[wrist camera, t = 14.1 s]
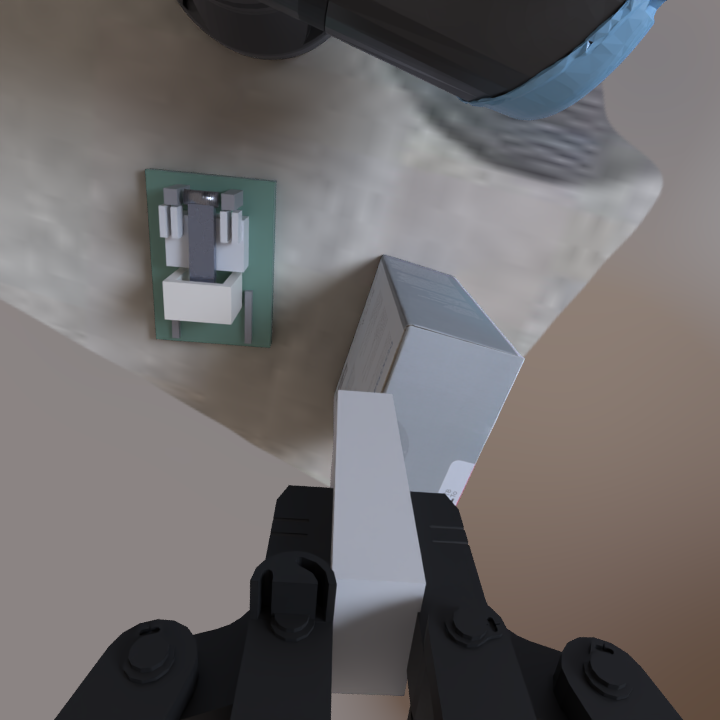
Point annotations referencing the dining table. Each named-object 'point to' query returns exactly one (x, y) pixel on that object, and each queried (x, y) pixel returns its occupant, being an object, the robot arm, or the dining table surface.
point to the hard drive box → (431, 370)
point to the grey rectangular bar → (202, 233)
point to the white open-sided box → (202, 298)
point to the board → (250, 276)
